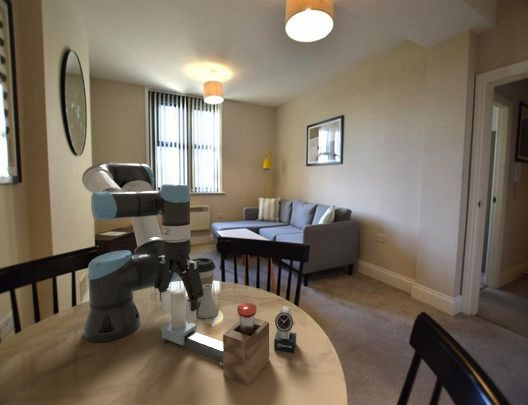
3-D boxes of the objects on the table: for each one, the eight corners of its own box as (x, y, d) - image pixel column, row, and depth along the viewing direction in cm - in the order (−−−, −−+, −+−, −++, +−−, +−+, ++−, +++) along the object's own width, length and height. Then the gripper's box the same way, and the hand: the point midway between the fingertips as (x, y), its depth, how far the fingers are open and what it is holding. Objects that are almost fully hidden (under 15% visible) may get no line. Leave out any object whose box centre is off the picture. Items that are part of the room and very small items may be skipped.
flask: (213, 320, 87) (213, 290, 86) (193, 318, 88) (192, 289, 87) (221, 309, 94) (221, 282, 93) (202, 307, 95) (202, 281, 94)
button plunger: (233, 334, 63) (233, 309, 62) (244, 325, 67) (244, 301, 66) (250, 339, 61) (250, 313, 60) (259, 329, 65) (259, 305, 64)
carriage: (160, 337, 74) (159, 293, 73) (177, 327, 80) (175, 285, 79) (181, 345, 71) (180, 298, 70) (196, 334, 76) (196, 290, 75)
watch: (272, 354, 69) (272, 314, 68) (278, 337, 77) (278, 301, 76) (293, 358, 68) (294, 317, 67) (297, 340, 76) (297, 303, 75)
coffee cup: (222, 296, 104) (221, 259, 103) (201, 308, 95) (200, 267, 94) (201, 290, 110) (200, 255, 109) (179, 300, 101) (179, 262, 100)
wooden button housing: (223, 375, 62) (222, 334, 61) (245, 351, 70) (245, 315, 70) (248, 386, 58) (248, 343, 58) (269, 359, 67) (269, 322, 66)
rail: (161, 342, 75) (160, 331, 74) (177, 331, 80) (176, 322, 80) (223, 367, 64) (223, 356, 64) (237, 353, 69) (237, 342, 69)
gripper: (138, 238, 75) (141, 313, 77) (197, 246, 65) (199, 334, 66) (160, 233, 82) (162, 303, 83) (216, 240, 71) (217, 320, 73)
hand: (178, 316), depth 75 cm, fingers open, 9 cm apart
